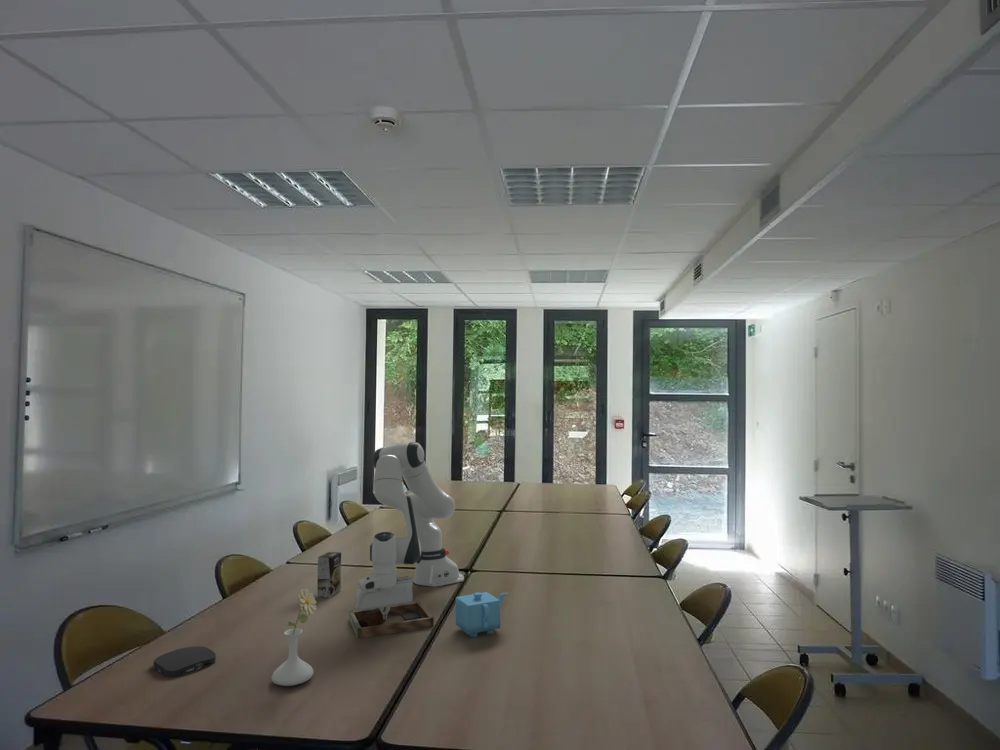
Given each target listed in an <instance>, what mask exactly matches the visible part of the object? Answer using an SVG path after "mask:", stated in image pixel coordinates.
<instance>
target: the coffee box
mask: <svg viewBox="0 0 1000 750" xmlns="http://www.w3.org/2000/svg"><path fill="white" fill-rule="evenodd" d="M316 585H317V586H316V587H317V589H316V594H317V595H316V597H318V596H323V597H322V598H329V597H330V598H332V597H333V595H334V594H335V595H337V594H338V593H339V591H340V590H341V591H342V586H341V585H342V552H338V551H337V552H332V551H331V552H330V551H329V552H326V553H324V554H322V555H320V556H318V557H317V584H316ZM341 591H340V592H341ZM337 592H338V593H337ZM336 593H337V594H336ZM335 595H334V596H335ZM325 596H326V597H325ZM331 596H332V597H331Z"/></svg>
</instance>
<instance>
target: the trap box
mask: <svg viewBox="0 0 1000 750" xmlns="http://www.w3.org/2000/svg"><path fill="white" fill-rule="evenodd" d="M374 609H376V608H374ZM374 609H368V610H361V611H359V610H358V609H357V610H353V611H349V618H348V619H349V623H350V624H351V627H352V629H353V630H354V632H355V634H356V637H357V639H363V638H370V637H377V636H382V635H388V634H395V633H401V632H407V631H408V632H409V631H414V630H415V631H416V630H421V629H426V628H427V629H428V628H433V627H434V624H435V623H434V622H435V621H434V617H433V615H432V614H431V613H430V612H429V611H428V610H427V609H426V607H424V605H423V604H422V603H421V602H420V601H417V602H416V601H415V602H411V603H407V604H400V605H394V606H390V610H389V612H388V614H387V617H388V616H396V615H401V614H402V613H409V612H416V611H417V612H418V613H419V615H420V616H421V617H422V618H421V619H415V620H408V621H405V620H402V621H396V622H389V623H384V624H383V623H382V624H380V625H375V626H368V627H362V628H361V626H360V624H359V620H360V618H361V617H362V616H364V615H365V614H367V613H369V612H370V611H372V610H374ZM384 610H386V608H385V607H384Z"/></svg>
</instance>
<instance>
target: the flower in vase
mask: <svg viewBox="0 0 1000 750" xmlns="http://www.w3.org/2000/svg"><path fill="white" fill-rule="evenodd" d="M297 596H298V598H297V601H298V605H299V611H298V615H297V618H296V622H295V623H293V622H291V621H289V622H288V623H287V626H288V627H289V626H290V627H294V628H290V629H286V630H285V631H284V632H283V634H284V636H285V637H286V640H287V642H288V656H287V659H285V661H284V662H283V663H281V664H279V666H278V667H277V668H276V669H275V670H274V671H273V673H272V675H271V677H270V679H271V681H272V682H273V684H275V685H278V686H282V687H290V686H297V685H300V684H303V683H305V682H308V681H309V680H310V679H311V678H312V677H313V675H314V669H313V666H311V665H310V664H309V663H307V662H306V661H305V660H302V659H301V658H300V657H299V656H298V643H299V638H300V635H302V633H303V629H301V628H297V625H298V621H299V622H300V623H303V624H304V623H306V622H307V621H308V620H309V616H314V615H315V612H316V611H317V605H316V604H317V603H318V602H317V600H316V599H315V597H314V594H313V592H310V591H309V589H306V588H304V589H303V588H301V590H299V594H298V595H297ZM301 611H302V612H303V613H301ZM314 611H315V612H314Z"/></svg>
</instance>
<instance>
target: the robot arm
mask: <svg viewBox="0 0 1000 750" xmlns="http://www.w3.org/2000/svg"><path fill="white" fill-rule="evenodd" d="M425 455H426V454H425V450H424V447H423V446H422V444H420V443H419V442H415V441H414V442H413V441H411V442H404V443H403V442H402V443H396V444H394V445H393V444H392V445H389V446H386V447H379V448H378V449H377V450H375V451H374V452H373V454H372V459H371V461H372V465H373V468H374V475H373V493H374V494H373V495H374V497H375V499H376V500H377V501H378V502H379V503H380V504H382V505H384V506H386V507H388V508H391V509H394V510H397V511H398V512H400V513H401V514H402V515H403V519H404V525H405V529H406V530H405V531H406V535H405V536H396V535H395V534H394V533H393V532H390V531H380V532H378V533H375V534H374V537H373V541H372V542H371V544H370V545H369V560H370V561H371V562H372V569H371V574H369V575H367V576H364V577H363V578H360V579H359V580H358V586H359V587H357V589H356V592H355V601H354V604H355V605H354V606H355V609H356V610H357V611H358V610H359V611H361V610H368V609H374V608H379V610H380V611H381V613H382V619H385V620H387V619H388V616H387V614H388V612H389V610H390V606H394V605H401V604H408V603H413V600H414V599H413V598H414V596H413V595H414V594H413V583H414V584H416V585H419V586H426V587H427V586H428V587H432V588H436V587H441V586H445V585H451V584H456V583H460V582H464V581H465V577H464V574H462V573H461V572H460V571H459V567H458V565H457V564H456V562H454V560H452V559H450V558H449V557H448V555H449V554H450V551H449V550H448V549H445V548H444V547H443V546H442V545H443V541H442V539H443V535H442V534H443V533H442V529H441V528H440V527H439V526H438V525H437V523H436V522H435V520H436V519H437V520H441V519H442V520H443V519H449V518H451V517H452V516H453V514H454V513H455V509H456V501H455V499H454V498H453V497H452V496H450V495H449V494H448V493H446V492H445V491H444V490H443V489H442V488H440V486H439V485H438V484H437V483H436V481H435V479H433V477H432V474H431V473H430V471H429V468H428V465H427V463H426V461H425ZM403 479H404V482H405V483H406V486H407V489H408V490H409V491H410V492H409V493H406V491H405V490H404V487H403ZM434 519H435V520H434ZM415 563H416V564H415ZM401 564H404V565H414V564H415V571H414V576H413V579H412V578H411V577H410V576H400V577H398V576H397V575H398V570H397V565H401ZM384 607H385V608H386V610H385V612H383V610H384Z"/></svg>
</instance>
